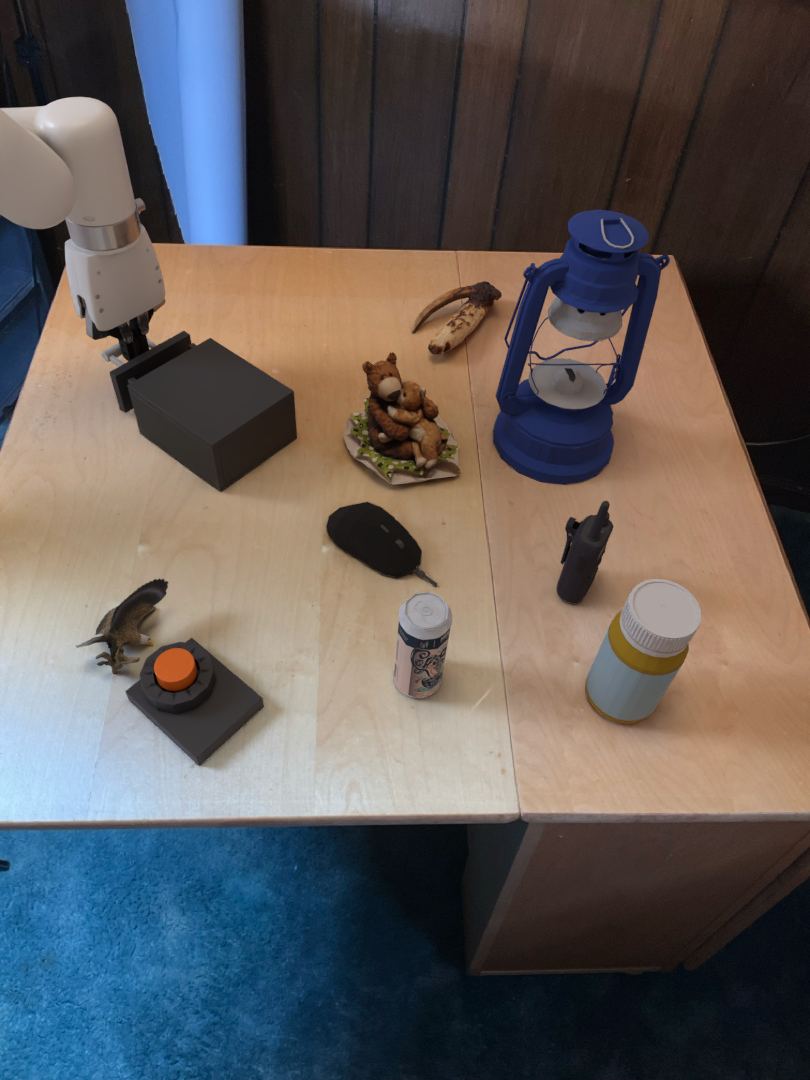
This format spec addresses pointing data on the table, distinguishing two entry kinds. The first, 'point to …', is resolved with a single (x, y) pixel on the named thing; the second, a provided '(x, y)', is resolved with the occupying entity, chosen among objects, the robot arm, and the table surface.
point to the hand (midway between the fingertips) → (137, 359)
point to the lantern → (585, 314)
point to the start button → (175, 669)
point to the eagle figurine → (127, 624)
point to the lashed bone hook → (459, 314)
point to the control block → (196, 703)
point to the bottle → (642, 650)
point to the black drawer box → (214, 413)
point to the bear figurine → (400, 430)
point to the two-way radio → (583, 554)
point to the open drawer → (142, 364)
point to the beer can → (421, 644)
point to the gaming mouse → (375, 539)
